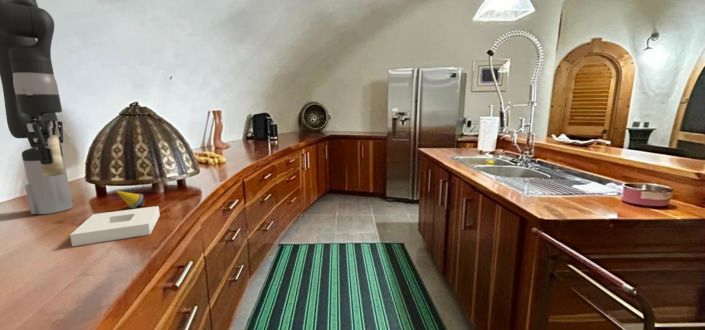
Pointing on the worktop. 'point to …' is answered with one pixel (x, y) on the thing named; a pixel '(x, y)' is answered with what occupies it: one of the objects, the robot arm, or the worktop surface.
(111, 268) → the worktop surface
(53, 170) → the wooden peg
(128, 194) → the drill bit
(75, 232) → the socket board
